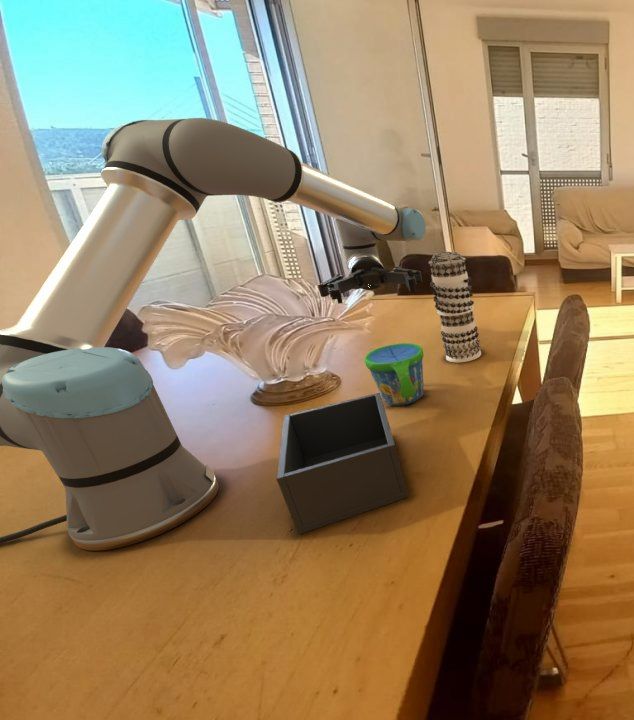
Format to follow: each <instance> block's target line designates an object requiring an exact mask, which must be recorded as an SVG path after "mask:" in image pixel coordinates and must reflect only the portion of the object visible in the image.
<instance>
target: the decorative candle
mask: <svg viewBox="0 0 634 720" xmlns="http://www.w3.org/2000/svg"><path fill="white" fill-rule="evenodd" d="M466 260H467V259H466V258H465V257H463V256H462V255H461V253H459V252H458V251H457V252H456V251H442V252H437V253H435V254H433V255H432V257H431V259H430V260H429V261H428V264H429V266H430V271H431V281H430V282H429V286H430V287H431V291H430V292H431V294H432V295H433V302H435V305H434V307H435V309H436V311H437V312H436V313H437V315H439V318H440V328H441V331H440V335H441V336H442V338H441V340H442V342H443V344H442V348H443V349H444V354H445V359H446V361H448V362H449V363H454V364H455V363H456V364H457V363H466V362H467V363H468V362H471V361H474V360H477V359H478V358H480V357H481V355H482V351H481V345H480V343H481V340H480V339H479V332H477V331H478V326H477V324H476V320H475V318H474V310H475V306H474V304H475V301H474V300H472V299H471V298H472V297H473V296H474V293H473V292H471V291H472V290H473V286H472V285H469V283H470V282H471V281H472V278H471V277H470V276H469V275H468V271H467V270H466V263H465V261H466Z"/></svg>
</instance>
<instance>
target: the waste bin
mask: <svg viewBox="0 0 634 720" xmlns="http://www.w3.org/2000/svg"><path fill="white" fill-rule="evenodd" d="M393 437H394V436H393V433H392V430H391V426H390V423H389V419H388V416H387V412H386V409H385V406H384V401H383V398H382V396H381V394H380V392H376V393H373V394H368V395H364V396H360V397H355V398H351V399H347V400H343V401H338V402H334V403H330V404H327V405H323V406H317V407H314V408H310V409H306V410H302V411H297V412H293V413H290V414H289V413H288V414H285V415H283V422H282V430H281V438H280V446H279V456H278V464H277V473H276V482H277V484H278V487H279V489H280V492H281V494H282V496H283V499H284V502H285V504H286V507H287V509H288V511H289V514H290V518H291V519H292V522H293V524H294V527H295V529H296V532H297V534H298V535H303V534H305V533H307V532H310V531H313V530H317V529H319V528H322V527H325V526H328V525H331V524H334V523H337V522H339V521H340V522H341V521H343V520H346V519H349V518H352V517H355V516H358V515H360V514H363V513H366V512H369V511H372V510H375V509H377V508H380V507H384V506H386V505H389V504H392V503H395V502H399V501H401V500H404V499H407V498H409V493H408V489H407V485H406V481H405V478H404V474H403V470H402V467H401V462H400V458H399V455H398V451H397V448H396V444H395V443H396V442H395V440H394V438H393Z"/></svg>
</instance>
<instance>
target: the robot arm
mask: <svg viewBox="0 0 634 720" xmlns="http://www.w3.org/2000/svg"><path fill="white" fill-rule="evenodd" d="M101 157H102V159H104V162H105V163H104V167H103V168H102V170H101V171H100V177H101V180H102V181H103V182H104V184H105V185H106V188H107V189H106V190H105V192H104V194H103V195H102V196H101V198H100V199H99V201H98V202H97V204H96V205H95V207H94V208H93V210H92V212H91V213H90V214H89V216H88V217H87V218H86V220H85V221H84V223H83V225H82V226H81V227H80V229H79V231H78V232H77V234H76V235H75V236H74V238H73V240H72V241H71V243H70V244H69V245H68V247H67V248H66V250H65V251H64V253H63V254H62V256H61V258H60V259H59V260H58V262H57V263H56V265H55V266H54V268H53V269H52V270H51V272H50V274H49V275H48V277H47V278H46V280H45V281H44V282H43V284H42V286H41V287H40V288H39V290H38V292H37V293H36V295H35V296H34V297H33V299H32V301H31V302H30V304H29V305H28V307H27V308H26V310H25V311H24V312H23V314H22V315H21V316H20V318H19V320H18V321H17V322H16V324H15V325H13V326H10V327H7V328H2V329H0V447H12V448H18V449H27V450H34V451H40V452H41V453H43V455H44V457H45V458H46V459H47V461H48V463H49V465H50V466H51V468H52V470H53V471H54V473H55V474H56V476H57V477H58V479H59V480H60V483H62V485H63V487H64V490H65V509H66V514H64V515H61V516H59V517H56V518H52V519H49V520H47V521H44V522H41V523H38V524H36V525H33V526H31V527H27V528H26V529H23V530H20V531H16V532H14V533H10V534H6V535H3V536H0V544H3V543H7V542H10V541H14V540H17V539H20V538H23V537H26V536H29V535H31V534H34V533H36V532H39V531H41V530H45V529H47V528H50V527H52V526H56V525H59V524H62V523H65V522H66V529H67V533H68V536H69V537H70V538H71V540H72V542H73V544H74V545H75V546H76V547H78V548H79V549H82V550H85V551H107V550H114V549H118V548H123V547H128V546H131V545H134V544H137V543H141V542H144V541H146V540H149V539H151V538H155V537H156V536H159V535H162V534H164V533H165V532H168V531H170V530H173V529H174V528H176V527H178V526H180V525H182V524H183V523H185V522H187V521H188V520H189V519H191V518H193V517H195V516H196V515H197V514H198V513H200V512H201V511H203V510H204V509H205V508H206V507H207V506H208V505H209V504H210V503H211V502H212V501H213V500H214V499H215V497H216V496H217V494H218V492H219V483H218V480H217V478H216V476H215V471H214V470H213V469H212V468H211V467H210V466H208V465H205V464H204V462H202V461H201V460H199V459H198V458H197V457H196V456H195V455H193V454H192V453H191V452H190V451H189V450H188V449H187V448H185V447H184V446H183V444H182V443H181V441H180V440H181V439H180V438H179V436H178V434H177V432H176V430H175V428H174V425H173V424H172V421H171V419H170V417H169V415H168V413H167V410H166V409H165V406H164V403H163V402H162V400H161V397H160V396H159V394H158V392H157V389H156V387H155V385H154V379H153V377H152V375H151V374H150V372H149V371H148V370H147V369H146V367H145V366H144V364H143V363H142V361H141V360H140V358H138V356H137V355H135V354H134V353H132V352H130V351H128V350H125V349H121V348H116V347H107V346H106V344H107V343H108V341H109V339H110V338H111V336H112V335H113V332H114V331H115V329H116V327H117V326H118V324H119V322H120V320H121V319H122V317H123V315H124V314H125V312H126V310H127V308H128V307H129V305H130V304H131V301H132V300H133V298H134V297H135V295H136V293H137V292H138V290H139V288H140V287H141V285H142V282H143V281H144V280H145V278H146V276H147V275H148V273H149V271H150V269H151V268H152V266H153V264H154V263H155V261H156V259H157V258H158V256H159V254H160V252H161V251H162V249H163V247H164V246H165V244H166V242H167V240H168V239H169V238H170V235H171V233H172V232H173V230H174V228H175V227H176V225H177V223H178V222H179V221H185V220H191V219H194V218H195V217H196V216H197V213H198V212H199V210H200V208H201V206H202V205H203V203H204V201H205V199H207V197H211V196H212V197H213V196H214V197H215V196H246V197H255V198H256V197H257V198H260V199H264V200H268V201H271V202H273V203H284V202H285V203H286V202H290V203H293V204H295V205H299V206H301V207H303V208H307V209H309V210H312V211H314V212H317V213H321V214H323V215H326V216H329V217H331V218H334V222H335V224H336V227H337V228H336V229H337V231H338V235H339V238H340V241H341V242H340V243H341V245H342V250H343V254H344V257H345V263H346V267H347V270H348V273H349V274H348V276H344V275H342V274H340V273H336V274H335V275H334V276H333V277H331V278H329V279H327V280H325V281H323V282H321V283H319V284H317V288H318V291H319V295H320V297H321V298H326V297H330V299H331V300H332V301H333V300H334V301H335V300H336V301H337V304H338V305H340V304H343V297H342V294H344V293H347V292H349V291H351V290H360V289H362V290H364V291H375V290H377V289H380V288H381V287H382V286H388V285H392V284H397V285H405V286H406V288H407V289H408V291H409V292H410V293H416V292H415V288H414V287H415V286H417V285H418V284H421V283H423V277H422V272H421V270H416V269H411V268H410V269H409V268H403V267H400V266H395V267H394V268H393V269H392V270H391V271H390V270H389V269H388V268H385V266H384V265H383V263H382V261H381V260H380V256H379V252H378V248H377V243H376V241H377V242H379V241H380V242H381V241H383V242H384V241H386V242H392V241H393V242H407V243H409V242H414V241H415V242H416V241H420V240H422V239H423V238H424V236H425V234H426V231H427V230H426V229H427V228H426V227H427V223H426V219H425V217H424V215H423V213H421V211H420V210H419V209H416V208H409V207H405V208H401V207H398V206H396V205H394V204H392V203H390V202H387V201H385V200H383V199H381V198H379V197H376V196H374V195H372V194H370V193H368V192H366V191H364V190H362V189H360V188H358V187H356V186H353V185H351V184H349V183H347V182H345V181H343V180H341V179H339V178H336V177H334V176H333V175H330V174H328V173H326V172H324V171H322V170H320V169H317V168H315V167H313V166H311V165H309V164H307V163H305V162H302V161H301V159H300V157H299V156H298V154H297V153H296V152H294V151H293V150H291V149H289V148H287V147H286V146H285V147H284V146H282V145H281V144H278V143H277V142H274V141H272V140H270V139H267V138H266V137H263V136H261V135H259V134H256V133H254V132H252V131H249V130H247V129H245V128H242V127H239V126H237V125H234V124H231V123H228V122H225V121H221V120H218V119H212V118H205V117H189V118H175V119H139V120H134V121H131V122H127V123H123V124H121V125H119V126H116V127H114V128H113V129H111V130H110V131H109V132H108V133H107V134H106V136H105V138H104V140H103V142H102V145H101ZM368 284H369V285H368ZM370 285H371V286H370ZM368 286H369V287H370V288H369V287H368Z"/></svg>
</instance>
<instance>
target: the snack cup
mask: <svg viewBox="0 0 634 720" xmlns="http://www.w3.org/2000/svg"><path fill="white" fill-rule="evenodd" d="M423 349H424V348H423V347H422V346H421V345H420V344H416V343H411V342H410V343H407V342H401V343H393V344H388V345H384V346H381V347H377V348H375V349H373V350H371V351H369V352H368V353H367V354H366V355H365V356H364V358H363V359H364V364H365V367H366V368H367V369H368V370H369V371H370V373H371V376H372V378H373V381H374V383H375V385H376V388H377V390H378V393H380V395H381V398H382V401H383V402H384V403H386V404H387V405H388V406H390V407H392V406H399V407H400V406H406V405H410V404H412V403H414V402H416V401H418V400H420V399H421V398H422V397H423V396H424V368H423V367H424V365H423V358H424V350H423Z"/></svg>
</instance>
